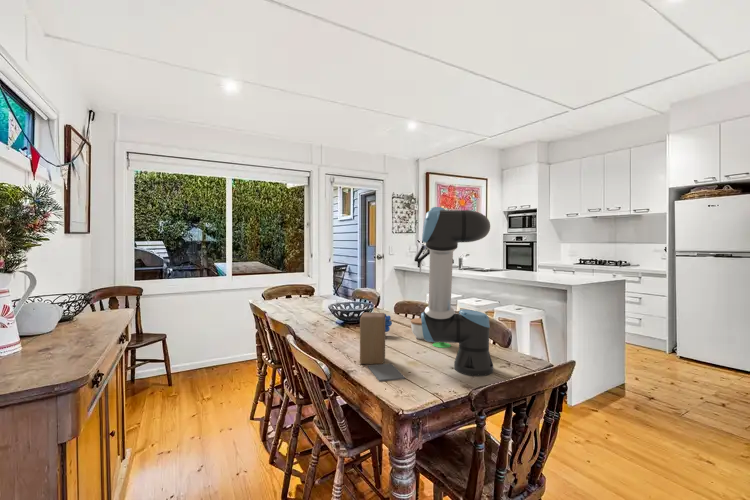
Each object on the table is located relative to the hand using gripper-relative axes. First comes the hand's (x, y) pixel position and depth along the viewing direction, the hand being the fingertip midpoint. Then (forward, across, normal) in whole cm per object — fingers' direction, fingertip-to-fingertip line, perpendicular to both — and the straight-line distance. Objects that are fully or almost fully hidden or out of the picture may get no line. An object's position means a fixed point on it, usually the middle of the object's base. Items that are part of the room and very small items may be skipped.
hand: (433, 273), depth 196 cm
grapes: (+31, +26, +16) cm, 44 cm away
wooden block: (+13, +24, +55) cm, 61 cm away
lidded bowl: (+30, +3, +17) cm, 35 cm away
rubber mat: (+7, +17, +66) cm, 69 cm away
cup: (+24, -6, +29) cm, 38 cm away
